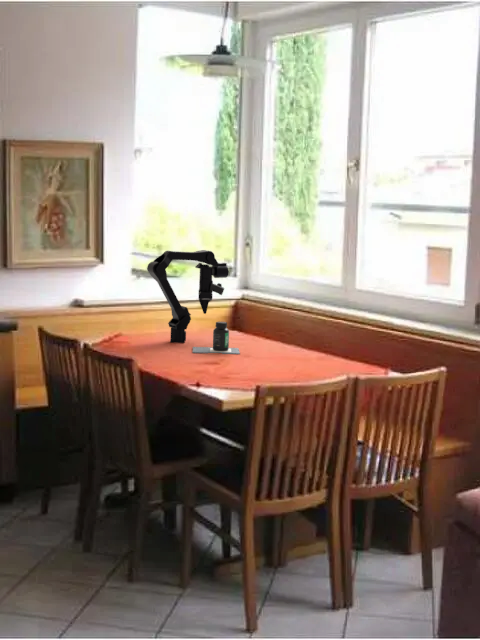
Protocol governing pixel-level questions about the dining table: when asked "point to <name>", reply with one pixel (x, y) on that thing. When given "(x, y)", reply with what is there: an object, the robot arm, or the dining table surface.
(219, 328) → the supplement bottle
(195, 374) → the dining table surface
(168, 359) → the dining table surface
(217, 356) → the dining table surface
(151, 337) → the dining table surface
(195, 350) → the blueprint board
